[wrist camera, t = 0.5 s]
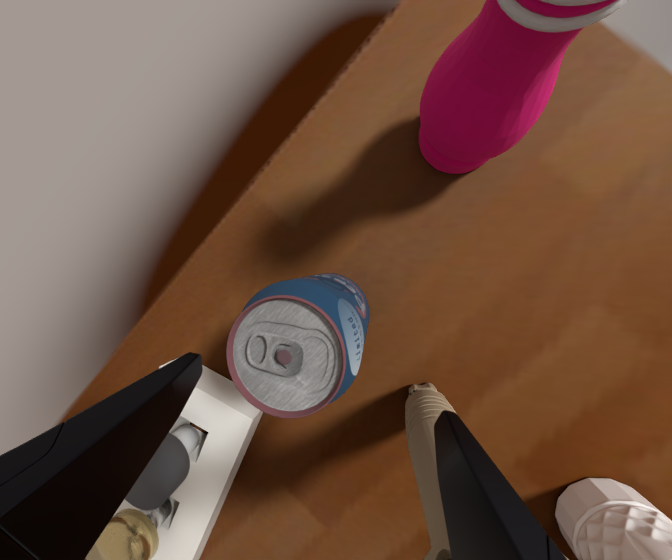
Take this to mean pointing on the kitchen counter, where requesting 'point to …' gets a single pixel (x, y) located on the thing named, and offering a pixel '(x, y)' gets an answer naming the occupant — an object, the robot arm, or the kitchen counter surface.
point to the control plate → (206, 464)
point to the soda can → (298, 344)
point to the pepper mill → (498, 78)
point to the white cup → (612, 522)
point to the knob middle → (131, 535)
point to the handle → (427, 461)
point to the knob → (165, 469)
